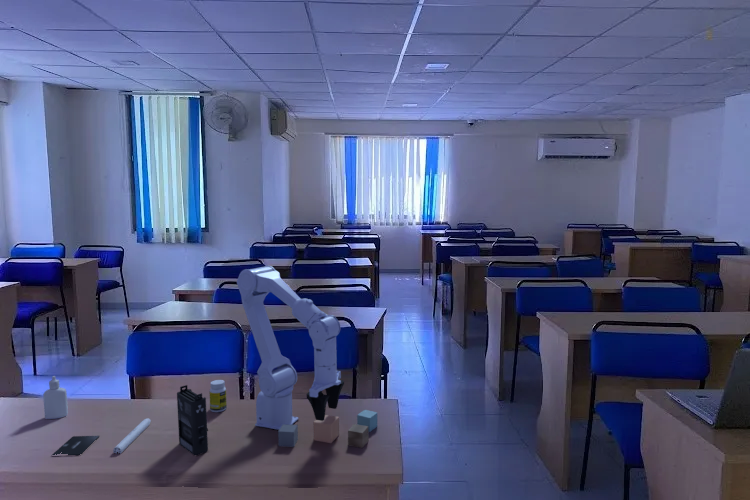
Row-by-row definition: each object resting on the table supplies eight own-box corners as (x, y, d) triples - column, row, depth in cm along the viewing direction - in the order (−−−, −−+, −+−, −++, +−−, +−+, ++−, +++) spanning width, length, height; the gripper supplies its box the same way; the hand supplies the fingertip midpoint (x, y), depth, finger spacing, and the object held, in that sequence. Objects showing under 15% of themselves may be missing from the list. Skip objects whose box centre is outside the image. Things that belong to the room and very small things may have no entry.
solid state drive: (51, 457, 127) (51, 455, 126) (72, 438, 136) (72, 436, 136) (80, 457, 127) (80, 454, 127) (99, 437, 137) (99, 435, 137)
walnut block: (348, 445, 131) (347, 430, 131) (354, 438, 135) (354, 423, 135) (362, 448, 130) (362, 433, 130) (368, 441, 134) (368, 426, 133)
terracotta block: (313, 440, 134) (313, 421, 134) (322, 432, 139) (322, 414, 138) (331, 443, 133) (330, 424, 132) (339, 435, 137) (339, 416, 137)
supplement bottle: (221, 413, 151) (220, 385, 150) (207, 412, 152) (205, 384, 151) (229, 406, 155) (228, 379, 155) (215, 405, 156) (214, 378, 155)
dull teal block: (357, 428, 141) (357, 414, 140) (365, 423, 144) (365, 409, 144) (369, 432, 139) (369, 418, 138) (377, 426, 142) (377, 412, 142)
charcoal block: (278, 446, 131) (278, 431, 131) (282, 439, 135) (282, 424, 135) (294, 447, 131) (293, 432, 130) (297, 439, 135) (297, 425, 134)
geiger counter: (214, 450, 129) (211, 392, 127) (196, 457, 126) (194, 398, 124) (194, 437, 136) (192, 382, 134) (177, 443, 133) (175, 386, 131)
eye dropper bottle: (53, 412, 152) (50, 373, 150) (71, 413, 151) (68, 374, 150) (42, 419, 147) (38, 378, 146) (59, 420, 147) (56, 379, 145)
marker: (146, 422, 146) (145, 414, 145) (153, 422, 146) (153, 414, 145) (113, 455, 128) (112, 445, 127) (121, 455, 128) (121, 446, 127)
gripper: (327, 374, 125) (328, 427, 127) (350, 356, 139) (351, 405, 140) (301, 371, 128) (302, 423, 129) (327, 353, 141) (327, 401, 143)
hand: (326, 413), depth 135 cm, fingers open, 7 cm apart
